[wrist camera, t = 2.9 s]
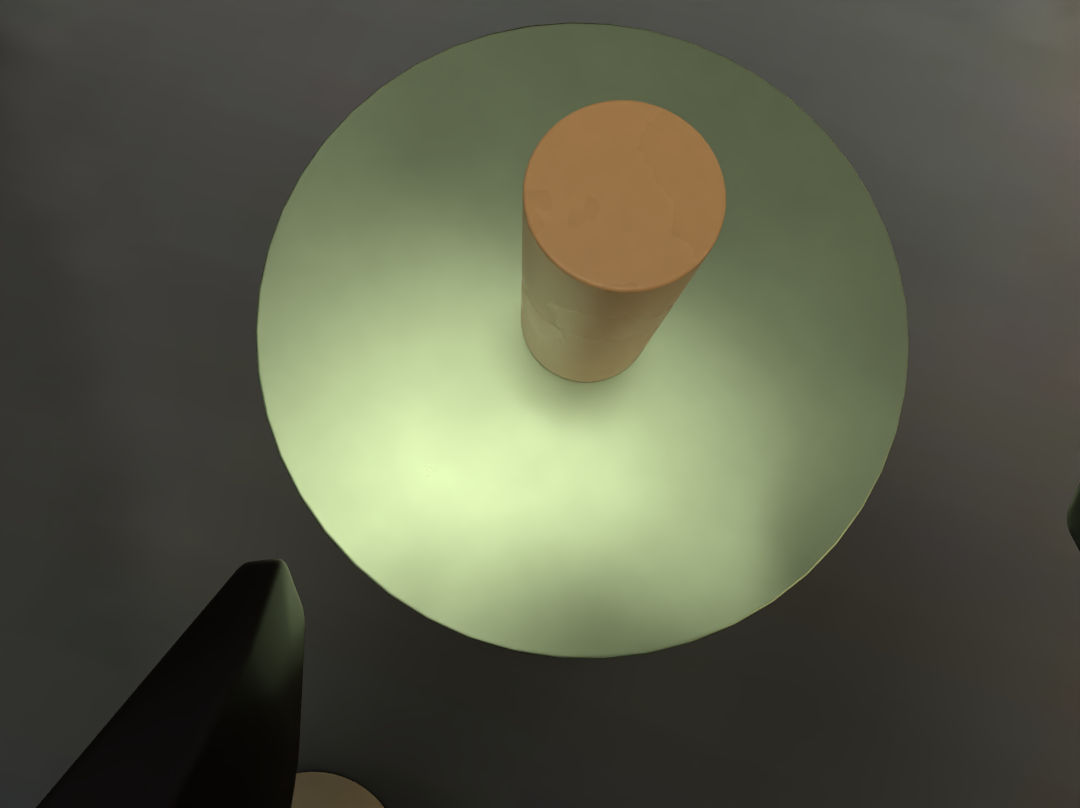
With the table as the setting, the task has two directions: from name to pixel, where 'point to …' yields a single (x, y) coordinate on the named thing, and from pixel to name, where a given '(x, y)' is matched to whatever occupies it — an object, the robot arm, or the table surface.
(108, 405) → the table surface
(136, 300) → the table surface
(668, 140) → the lid
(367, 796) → the candle
